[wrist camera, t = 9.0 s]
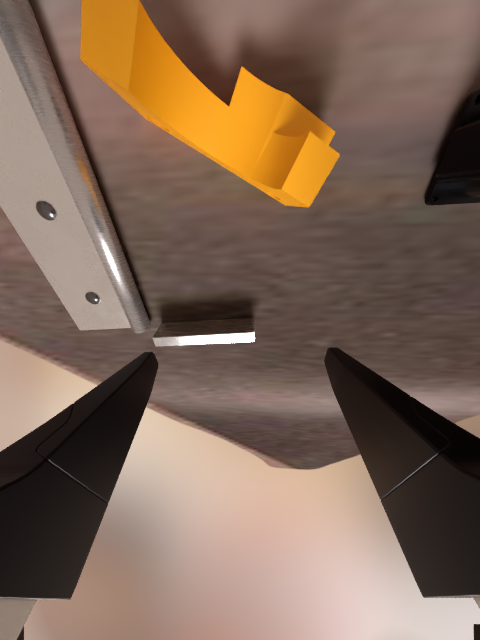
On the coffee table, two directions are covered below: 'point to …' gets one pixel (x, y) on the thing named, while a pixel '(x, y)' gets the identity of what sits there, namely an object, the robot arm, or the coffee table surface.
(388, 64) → the coffee table surface
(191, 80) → the pipe clamp
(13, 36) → the hinge bed
